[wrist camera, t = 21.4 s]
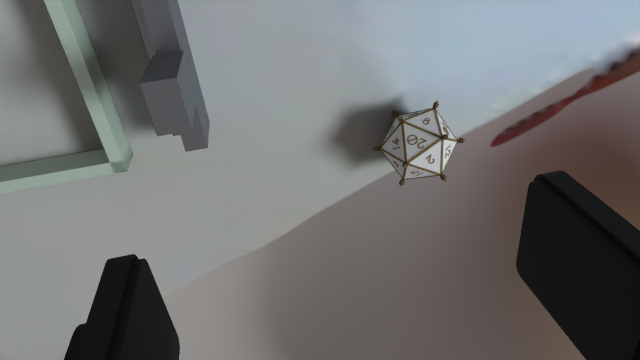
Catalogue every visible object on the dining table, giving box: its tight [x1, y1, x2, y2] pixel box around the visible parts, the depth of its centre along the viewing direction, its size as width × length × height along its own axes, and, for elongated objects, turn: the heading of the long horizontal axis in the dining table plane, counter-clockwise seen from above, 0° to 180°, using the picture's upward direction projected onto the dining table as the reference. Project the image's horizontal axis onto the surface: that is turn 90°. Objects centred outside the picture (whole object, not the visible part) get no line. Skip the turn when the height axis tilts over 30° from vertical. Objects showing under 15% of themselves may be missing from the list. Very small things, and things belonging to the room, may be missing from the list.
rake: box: [131, 0, 209, 152], centre depth 38 cm, size 4×14×13 cm, turn 7°
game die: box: [372, 101, 466, 186], centre depth 48 cm, size 9×8×10 cm
